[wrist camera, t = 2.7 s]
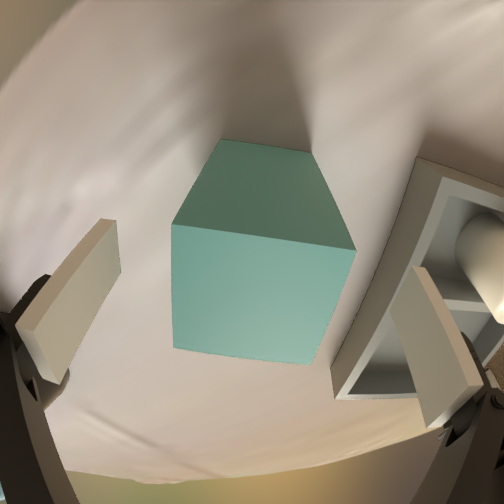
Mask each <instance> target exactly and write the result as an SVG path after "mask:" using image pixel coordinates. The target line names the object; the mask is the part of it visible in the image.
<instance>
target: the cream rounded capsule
mask: <svg viewBox="0 0 504 504" xmlns="http://www.w3.org/2000/svg"><path fill="white" fill-rule="evenodd" d="M454 253H455V259H456V262H457V263H458V265H459V266H460V267H461V269H462V270H463V272H464V273H465V274H466V276H467V277H468V279H469V280H470V282H471V283H472V284H473V286H474V287H475V289H476V290H477V292H478V293H479V295H480V296H481V298H482V299H483V301H484V302H485V304H486V305H487V307H488V308H489V310H490V312H491V313H492V315H493V316H494V318H495V319H496V321H497V322H498V323H500V324H504V222H503V221H502V220H501V219H500V218H499V217H498V216H497V215H495V214H492V213H483V214H480V215H478V216H476V217H474V218H473V219H472V220H470V221H469V222H468V223H467V224H466V225H465V226H464V228H463V229H462V231H461V232H460V234H459V236H458V238H457V241H456V244H455V251H454Z"/></svg>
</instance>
